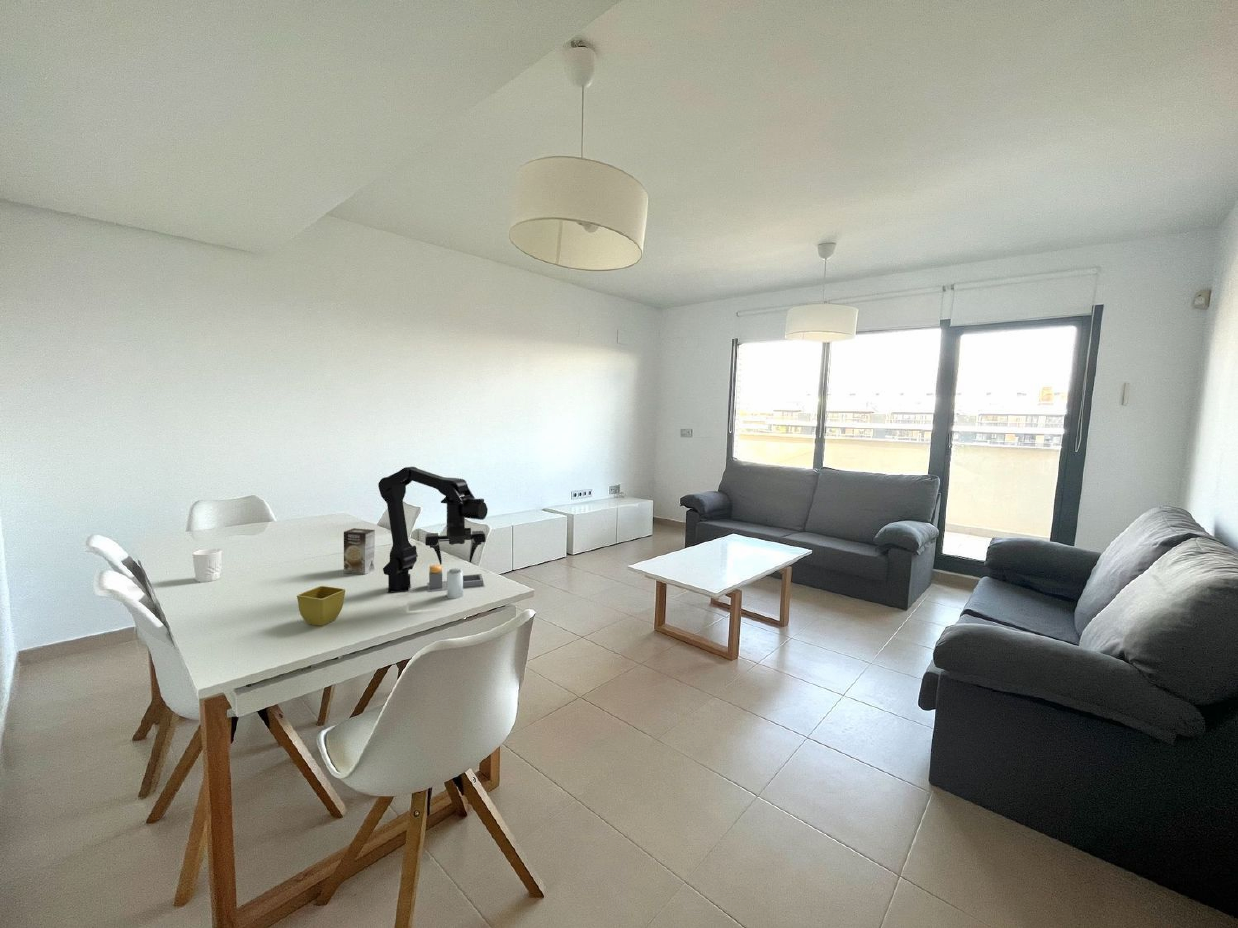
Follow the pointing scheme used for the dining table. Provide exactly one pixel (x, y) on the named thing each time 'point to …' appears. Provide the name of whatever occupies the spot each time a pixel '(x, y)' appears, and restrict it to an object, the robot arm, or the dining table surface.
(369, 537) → the coffee box
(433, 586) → the gray holder stand
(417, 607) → the dining table surface
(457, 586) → the cylinder
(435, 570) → the yellow rounded piece
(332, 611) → the flower pot
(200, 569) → the white cup
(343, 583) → the dining table surface
